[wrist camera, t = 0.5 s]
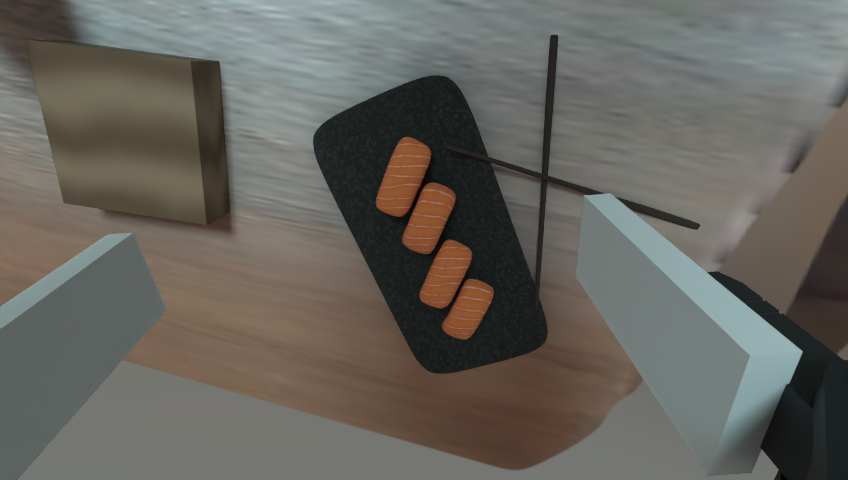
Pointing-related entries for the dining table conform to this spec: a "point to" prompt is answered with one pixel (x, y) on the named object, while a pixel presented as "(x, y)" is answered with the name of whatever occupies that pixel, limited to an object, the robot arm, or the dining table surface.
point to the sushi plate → (441, 221)
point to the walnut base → (134, 129)
